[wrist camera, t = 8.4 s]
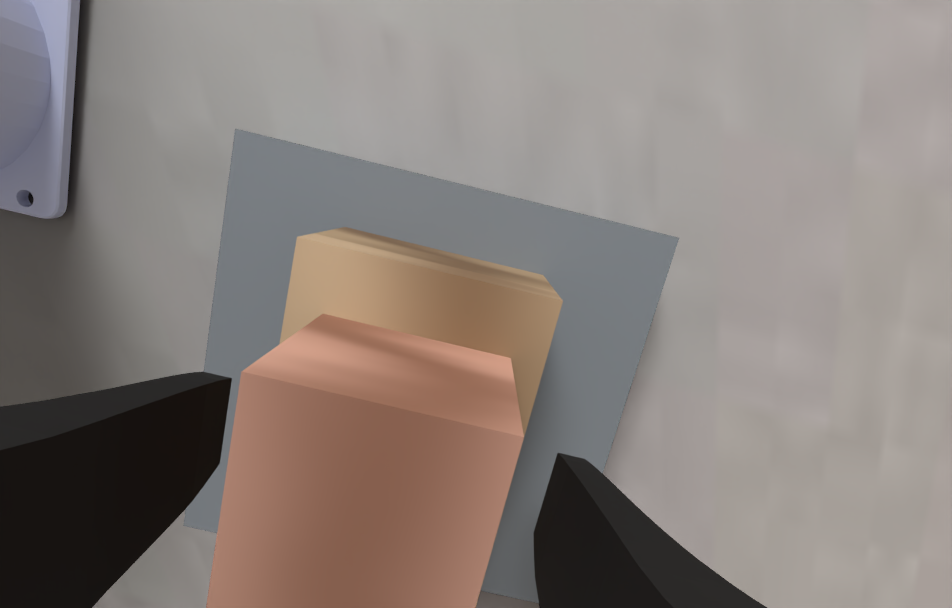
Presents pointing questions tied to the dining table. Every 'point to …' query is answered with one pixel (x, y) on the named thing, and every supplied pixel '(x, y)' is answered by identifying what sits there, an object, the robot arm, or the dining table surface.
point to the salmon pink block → (365, 472)
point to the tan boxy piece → (426, 299)
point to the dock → (461, 232)
